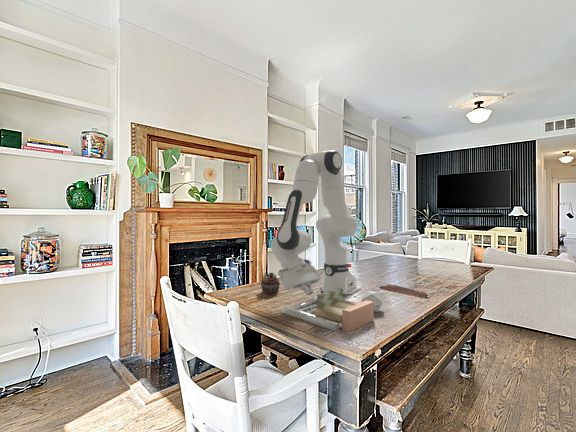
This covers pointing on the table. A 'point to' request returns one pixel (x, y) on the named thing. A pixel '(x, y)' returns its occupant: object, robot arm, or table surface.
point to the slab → (332, 304)
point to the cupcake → (270, 284)
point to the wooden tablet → (404, 290)
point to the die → (373, 299)
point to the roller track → (311, 315)
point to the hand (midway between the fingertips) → (310, 293)
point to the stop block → (357, 315)
